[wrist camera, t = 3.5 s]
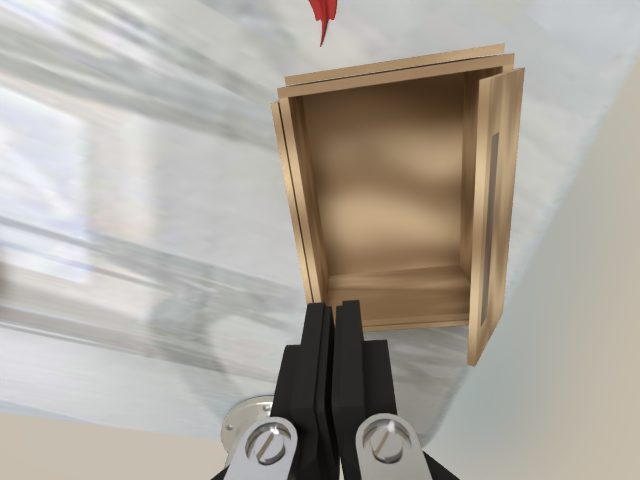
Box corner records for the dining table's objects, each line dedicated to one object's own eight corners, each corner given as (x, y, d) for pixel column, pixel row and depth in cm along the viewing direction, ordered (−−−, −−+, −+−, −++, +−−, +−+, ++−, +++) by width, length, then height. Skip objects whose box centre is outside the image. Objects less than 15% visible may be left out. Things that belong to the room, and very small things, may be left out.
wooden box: (464, 271, 31) (495, 323, 24) (319, 283, 32) (312, 335, 26) (472, 49, 24) (517, 41, 17) (286, 77, 25) (266, 79, 19)
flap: (503, 313, 23) (475, 367, 20) (495, 311, 24) (466, 364, 20) (525, 67, 17) (490, 78, 14) (515, 68, 18) (479, 80, 14)
